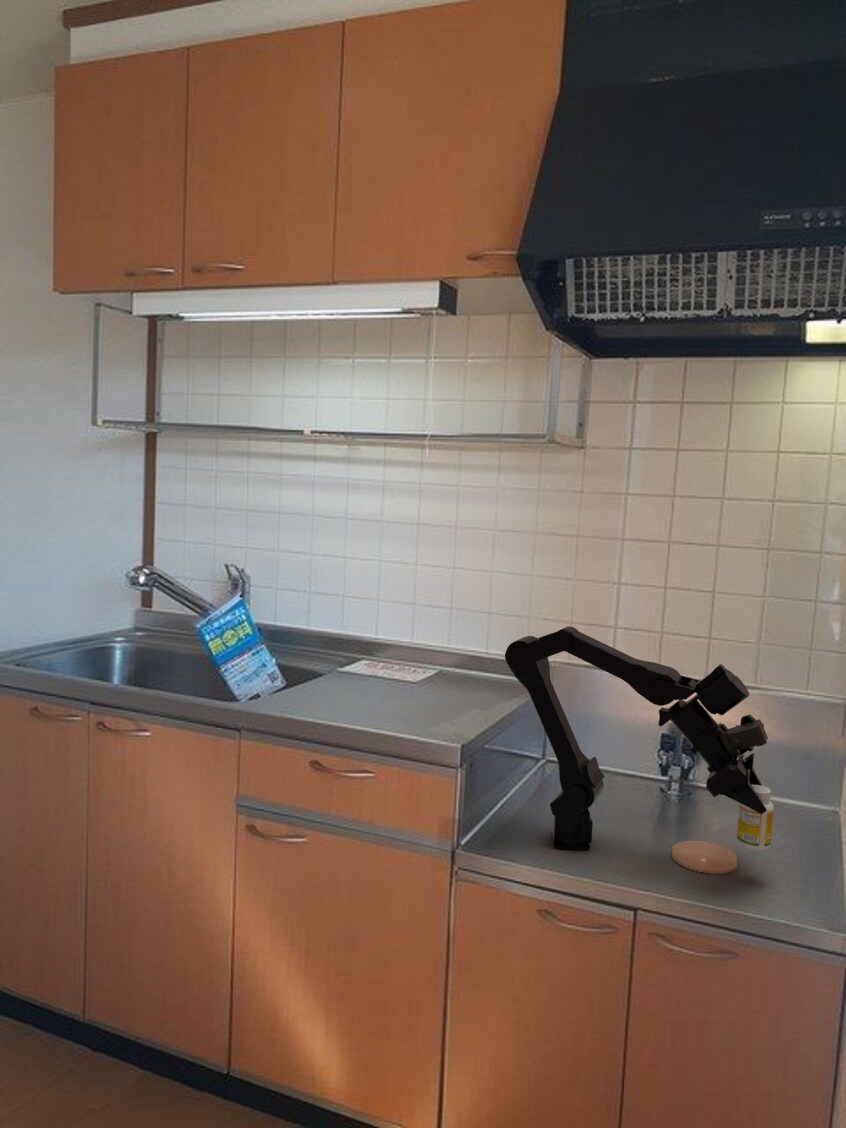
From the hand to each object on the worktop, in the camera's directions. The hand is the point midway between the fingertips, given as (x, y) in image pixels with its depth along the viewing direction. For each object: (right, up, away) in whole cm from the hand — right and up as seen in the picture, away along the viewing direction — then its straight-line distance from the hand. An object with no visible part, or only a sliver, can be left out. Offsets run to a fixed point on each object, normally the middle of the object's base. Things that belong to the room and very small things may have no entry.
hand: (765, 806), depth 146 cm
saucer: (-7, -12, +10) cm, 17 cm away
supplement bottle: (-2, -7, +1) cm, 7 cm away
